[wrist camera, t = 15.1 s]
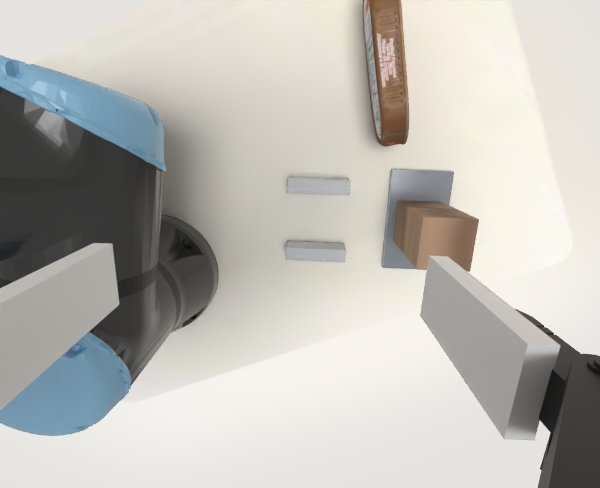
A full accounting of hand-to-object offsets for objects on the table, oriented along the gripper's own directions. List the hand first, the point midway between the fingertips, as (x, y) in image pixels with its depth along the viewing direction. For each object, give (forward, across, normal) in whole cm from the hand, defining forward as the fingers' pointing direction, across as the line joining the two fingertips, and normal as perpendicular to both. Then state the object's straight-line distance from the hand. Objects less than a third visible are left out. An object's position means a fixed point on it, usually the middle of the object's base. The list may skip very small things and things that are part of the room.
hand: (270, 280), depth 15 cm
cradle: (+29, +3, -3) cm, 29 cm away
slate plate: (+28, +15, -3) cm, 32 cm away
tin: (+29, +9, +13) cm, 33 cm away
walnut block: (+28, +15, -3) cm, 32 cm away
